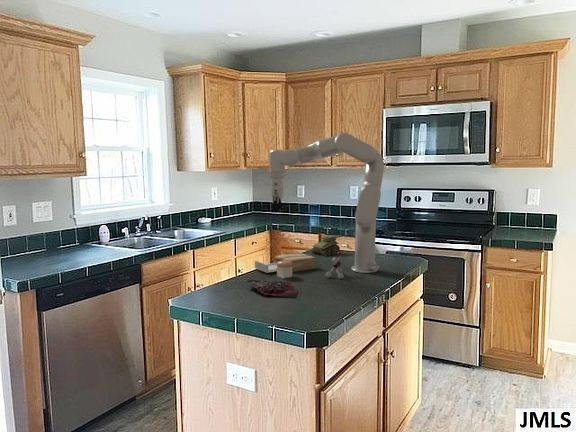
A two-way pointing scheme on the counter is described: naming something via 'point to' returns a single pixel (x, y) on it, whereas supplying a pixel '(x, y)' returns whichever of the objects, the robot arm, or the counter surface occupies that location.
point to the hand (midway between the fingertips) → (276, 210)
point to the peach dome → (284, 263)
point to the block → (284, 272)
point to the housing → (298, 261)
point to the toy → (327, 246)
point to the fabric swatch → (274, 288)
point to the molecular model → (336, 266)
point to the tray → (266, 267)
